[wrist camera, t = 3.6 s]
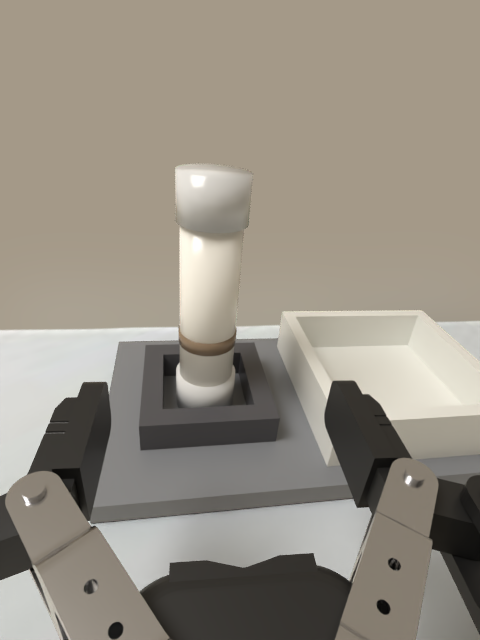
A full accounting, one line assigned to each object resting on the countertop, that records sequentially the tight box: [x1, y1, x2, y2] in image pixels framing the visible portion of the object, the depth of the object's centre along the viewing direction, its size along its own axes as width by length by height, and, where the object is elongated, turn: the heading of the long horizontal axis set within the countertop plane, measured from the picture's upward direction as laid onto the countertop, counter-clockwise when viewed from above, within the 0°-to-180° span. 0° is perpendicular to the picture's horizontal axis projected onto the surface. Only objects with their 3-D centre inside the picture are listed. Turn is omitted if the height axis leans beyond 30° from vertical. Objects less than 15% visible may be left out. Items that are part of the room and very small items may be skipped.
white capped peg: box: [175, 164, 253, 408], centre depth 22 cm, size 4×4×14 cm
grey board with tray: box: [90, 310, 480, 523], centre depth 26 cm, size 26×14×4 cm, turn 99°
